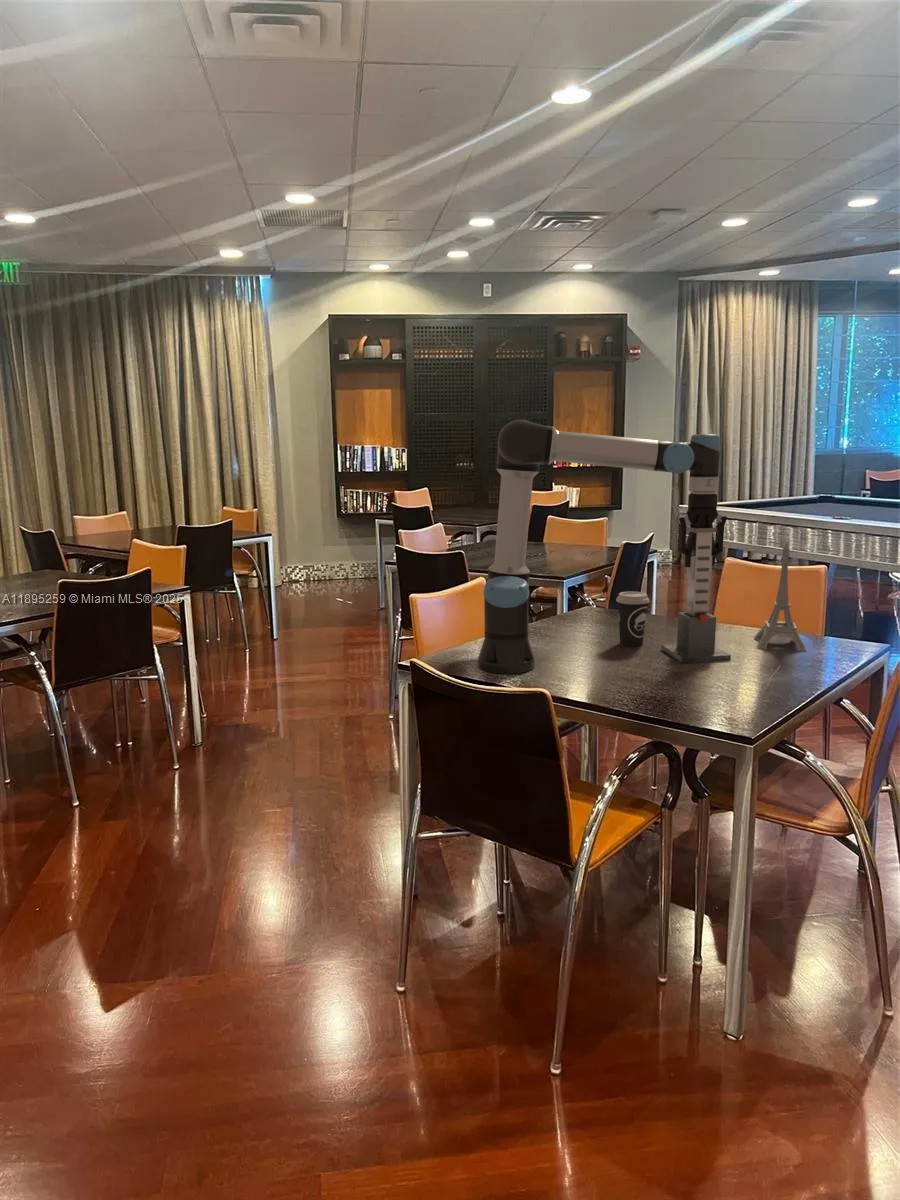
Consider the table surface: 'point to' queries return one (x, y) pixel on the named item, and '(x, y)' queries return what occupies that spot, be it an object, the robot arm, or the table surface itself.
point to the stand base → (696, 640)
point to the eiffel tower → (782, 603)
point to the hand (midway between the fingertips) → (698, 578)
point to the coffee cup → (632, 617)
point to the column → (700, 572)
